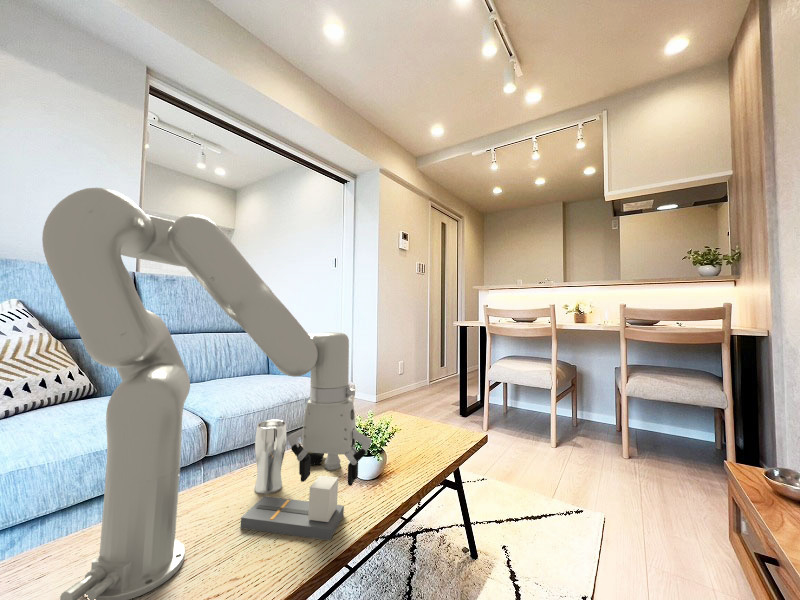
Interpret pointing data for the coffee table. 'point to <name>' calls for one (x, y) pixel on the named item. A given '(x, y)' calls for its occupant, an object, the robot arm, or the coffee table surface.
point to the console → (289, 518)
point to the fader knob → (323, 498)
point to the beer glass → (269, 455)
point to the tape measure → (316, 457)
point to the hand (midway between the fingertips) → (328, 480)
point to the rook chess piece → (332, 462)
